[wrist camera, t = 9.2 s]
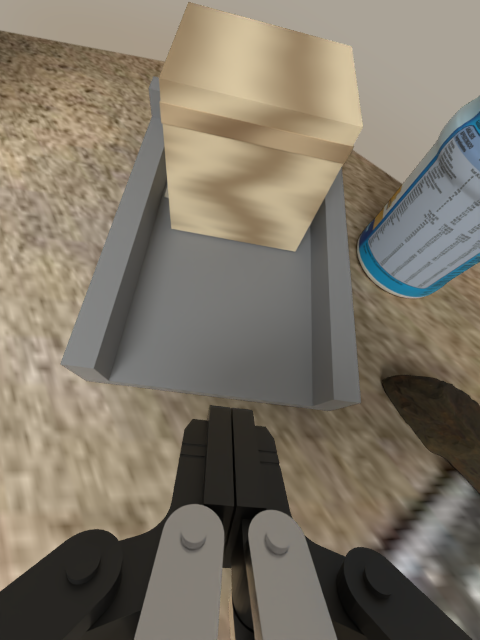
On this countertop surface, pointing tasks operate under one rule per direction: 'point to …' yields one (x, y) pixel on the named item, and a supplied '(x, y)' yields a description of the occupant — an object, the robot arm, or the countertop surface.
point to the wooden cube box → (253, 126)
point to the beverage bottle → (430, 216)
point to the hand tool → (440, 420)
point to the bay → (217, 303)
